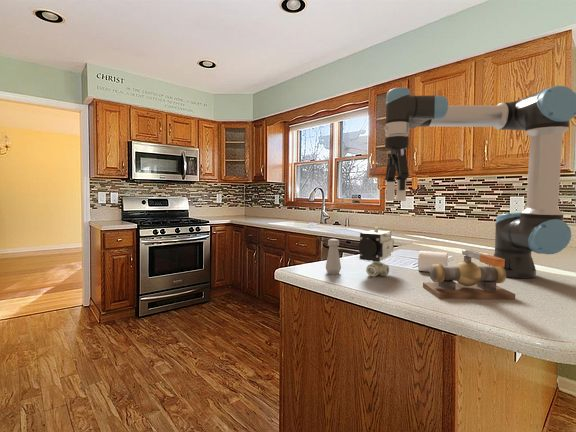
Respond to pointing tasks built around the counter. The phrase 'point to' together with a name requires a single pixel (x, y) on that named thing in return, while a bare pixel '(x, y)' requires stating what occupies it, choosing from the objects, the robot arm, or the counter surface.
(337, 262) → the salt shaker
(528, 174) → the robot arm
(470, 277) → the valve mount
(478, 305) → the counter surface
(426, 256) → the white rectangular block
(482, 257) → the lever
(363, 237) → the ball valve
